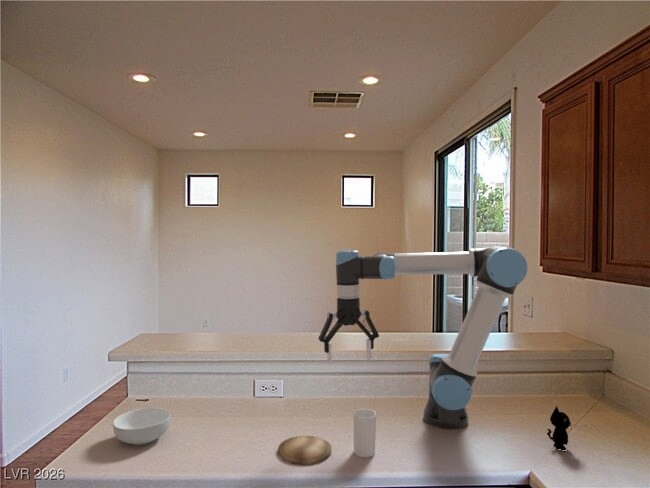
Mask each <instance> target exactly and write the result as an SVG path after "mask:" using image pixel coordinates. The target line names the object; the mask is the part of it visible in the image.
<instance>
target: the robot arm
mask: <svg viewBox="0 0 650 488" xmlns="http://www.w3.org/2000/svg"><path fill="white" fill-rule="evenodd" d="M335 255H336V261H335V271H336V272H335V273H336V276H335V278H336V296H337V298H336V312H329V311H328V312H327V317H326V320H325V323H324V325H323V328H322V330H321V332H320V334H319V335H318V339H317V340H318V341H319V342H320V343H323V350H324V353H325V354H326V355H327V357H326V358H327V362H328V363H329V364H332V362H333V360H332V343H331V342H330V341H331V340H332V339H333V338H334V336H335V335H336V334H337V332H338V331H339V330H340V328H342V327H343V326H344V327H346V326H347V327H348V326H354V325H357V326H358V328H360V330H361V331H362V332H363V333H364V334H365V335H366V336H367V338H366V339H365V342H366V343H365V345H366V359H367V360H368V361H371V360H372V350H374V347H375V342H374V341H375V339H377V338H379V337H380V335H379V332H378V330H377V329H376V326H375V324H374V323H373V321H372V318H371V317H370V316H371V315H370V311H369V310H367V309H364V310H362V311H361V309H360V306H361V305H360V303H361V302H360V301H361V300H360V297H359V296H360V280H383V281H385V280H392V279H395V277H396V276H397V275H399V276H401V275H404V276H405V275H406V276H407V275H413V276H414V275H469V276H471V278H473V277H475V278H476V280H475V281H476V284H477V286H478V288H477V290H476V293H475V294H474V298H473V299H472V302H471V303H470V307H469V309H468V311H467V312H466V315H465V318H464V320H463V322H462V325H461V327H460V329H459V331H458V334H457V336H456V338H455V340H454V343H453V345H452V347H451V350H450V351H449V353H434V354H431V355H430V357H429V361H428V364H429V370H428V371H429V372H428V373H429V376H428V377H429V381H428V383H429V384H428V399H427V401H426V403H425V407H424V409H423V420H424V421H425V422H426V423H427V424H429V425H430V426H433V427H436V428H439V429H440V428H441V429H447V430H456V429H462V428H465V427H466V426H467V425H468V424H469V415H468V414H469V413H468V411H467V407H466V406H467V405H468V404H469V403H470V401H471V398H472V392H473V390H472V387H473V385H474V383H475V380H476V378H477V376H478V373H477V370H476V366H477V363H478V362H479V359H480V356H481V355H482V352H483V349H484V347H485V345H486V343H487V341H488V339H489V337H490V334H491V332H492V329H493V327H494V324H495V322H496V320H497V318H498V316H499V314H500V312H501V310H502V308H503V305H504V303H505V301H506V299H508V298H510V297H513V296H514V293H515V291H516V289H517V286H518V285H519V284H521V283H522V282H523V281H524V280H525V279H526V276H527V274H528V262H527V260H526V258H525V256H524V255H523V254H522V253H521V252H520V251H518V250H517V249H515V248H514V247H510V246H504V245H493V246H489V247H480V248H470V249H469V250H468V251H452V252H451V251H449V252H448V251H447V252H446V251H445V252H443V251H442V252H409V253H408V252H404V253H402V252H401V253H400V252H399V253H383V252H380V253H379V252H378V253H376V254H373V255H372V256H371V255H370V256H363V255H360V254H359V251H358V250H355V249H354V250H353V249H352V250H351V249H349V250H346V249H345V250H339V251H337V252H336V254H335ZM361 317H363V318H364V319H365V321H366V323H367V325H368V327H369V329H370V330H368V329H367V328H366V326H364V325H363V323H362V321H360V318H361ZM335 318H336V319H337V321H336V322H335V324H334V325H333V326H332V328H331V325H332V323H333V320H334V319H335ZM330 328H331V329H330ZM329 330H330V331H329ZM370 331H371V332H370Z"/></svg>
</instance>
